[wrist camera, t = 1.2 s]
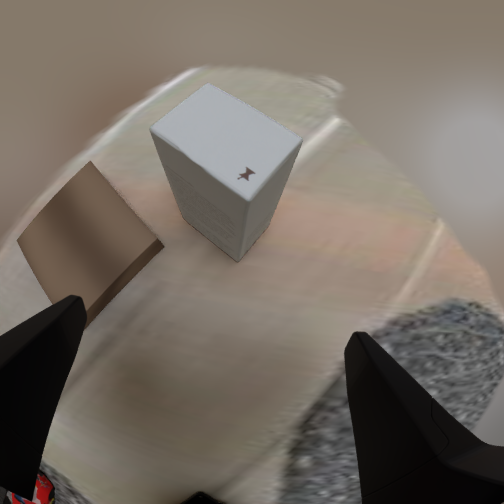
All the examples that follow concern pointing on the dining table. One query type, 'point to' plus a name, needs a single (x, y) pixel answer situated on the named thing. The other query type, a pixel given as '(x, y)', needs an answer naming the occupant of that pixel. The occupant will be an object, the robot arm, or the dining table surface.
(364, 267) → the dining table surface
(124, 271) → the walnut block
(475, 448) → the robot arm
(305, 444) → the dining table surface
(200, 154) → the skincare box
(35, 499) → the race car
